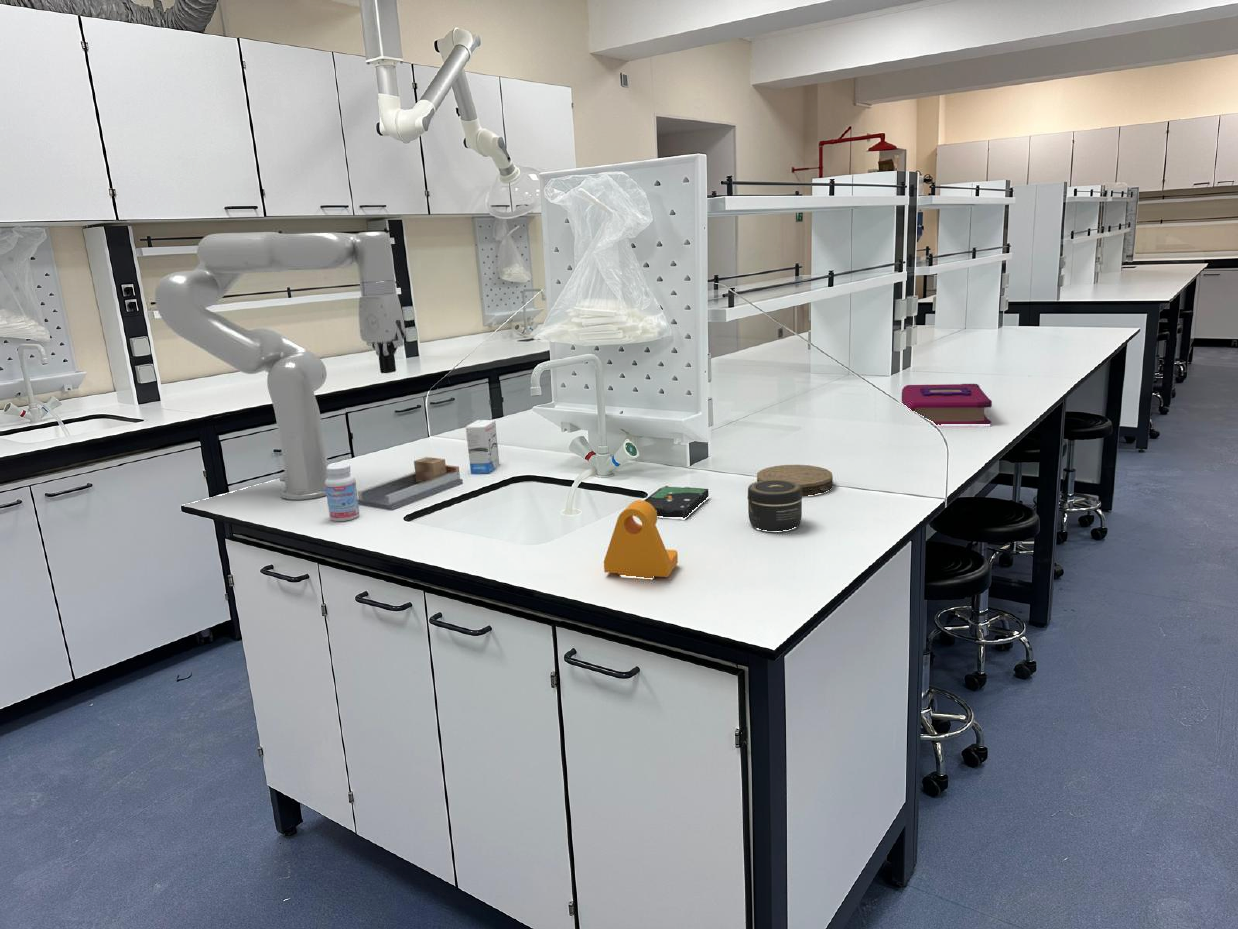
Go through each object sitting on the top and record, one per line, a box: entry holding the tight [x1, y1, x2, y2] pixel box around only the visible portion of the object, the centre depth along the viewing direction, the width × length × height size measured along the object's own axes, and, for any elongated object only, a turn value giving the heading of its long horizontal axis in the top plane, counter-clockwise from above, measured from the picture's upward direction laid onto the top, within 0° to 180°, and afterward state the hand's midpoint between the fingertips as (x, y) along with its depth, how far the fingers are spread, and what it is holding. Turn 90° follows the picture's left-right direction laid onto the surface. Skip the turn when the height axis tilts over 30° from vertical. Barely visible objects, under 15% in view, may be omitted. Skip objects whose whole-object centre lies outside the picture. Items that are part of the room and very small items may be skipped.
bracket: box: [603, 499, 679, 578], centre depth 142 cm, size 11×7×12 cm, turn 71°
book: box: [901, 383, 993, 425], centre depth 243 cm, size 21×28×8 cm
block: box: [413, 456, 447, 483], centre depth 201 cm, size 6×4×5 cm, turn 58°
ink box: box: [465, 419, 501, 475], centre depth 213 cm, size 9×5×12 cm, turn 168°
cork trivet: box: [756, 464, 834, 496], centre depth 185 cm, size 16×16×3 cm
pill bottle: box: [325, 462, 360, 522], centre depth 180 cm, size 6×6×11 cm
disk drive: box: [643, 485, 709, 518], centre depth 176 cm, size 10×3×15 cm
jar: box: [747, 480, 803, 531], centre depth 161 cm, size 10×10×8 cm
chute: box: [357, 464, 464, 511], centre depth 196 cm, size 11×22×4 cm, turn 147°
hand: (388, 372), depth 195 cm, fingers closed
